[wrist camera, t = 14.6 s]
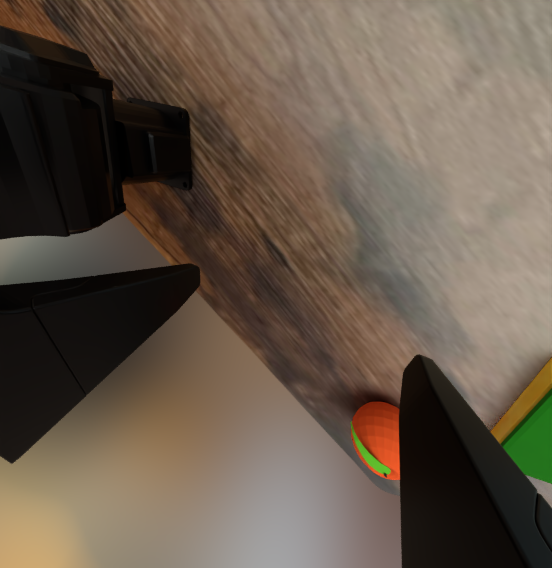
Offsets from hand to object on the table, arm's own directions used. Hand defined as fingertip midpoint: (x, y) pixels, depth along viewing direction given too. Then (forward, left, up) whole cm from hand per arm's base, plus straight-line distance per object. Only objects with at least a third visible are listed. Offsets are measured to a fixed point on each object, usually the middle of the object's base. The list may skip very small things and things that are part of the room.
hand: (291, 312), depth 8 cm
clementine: (+12, -19, -13) cm, 26 cm away
